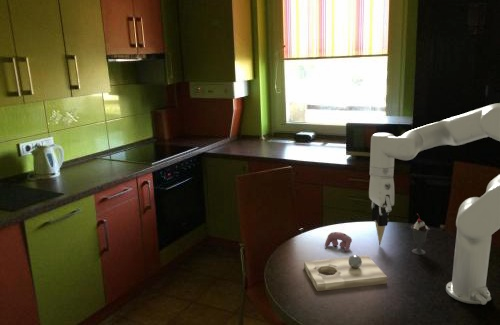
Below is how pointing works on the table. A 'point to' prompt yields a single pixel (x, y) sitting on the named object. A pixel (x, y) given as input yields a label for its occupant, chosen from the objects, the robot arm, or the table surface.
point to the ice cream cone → (380, 231)
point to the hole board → (343, 273)
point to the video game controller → (339, 236)
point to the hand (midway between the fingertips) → (379, 222)
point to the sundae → (419, 235)
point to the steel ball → (355, 261)
